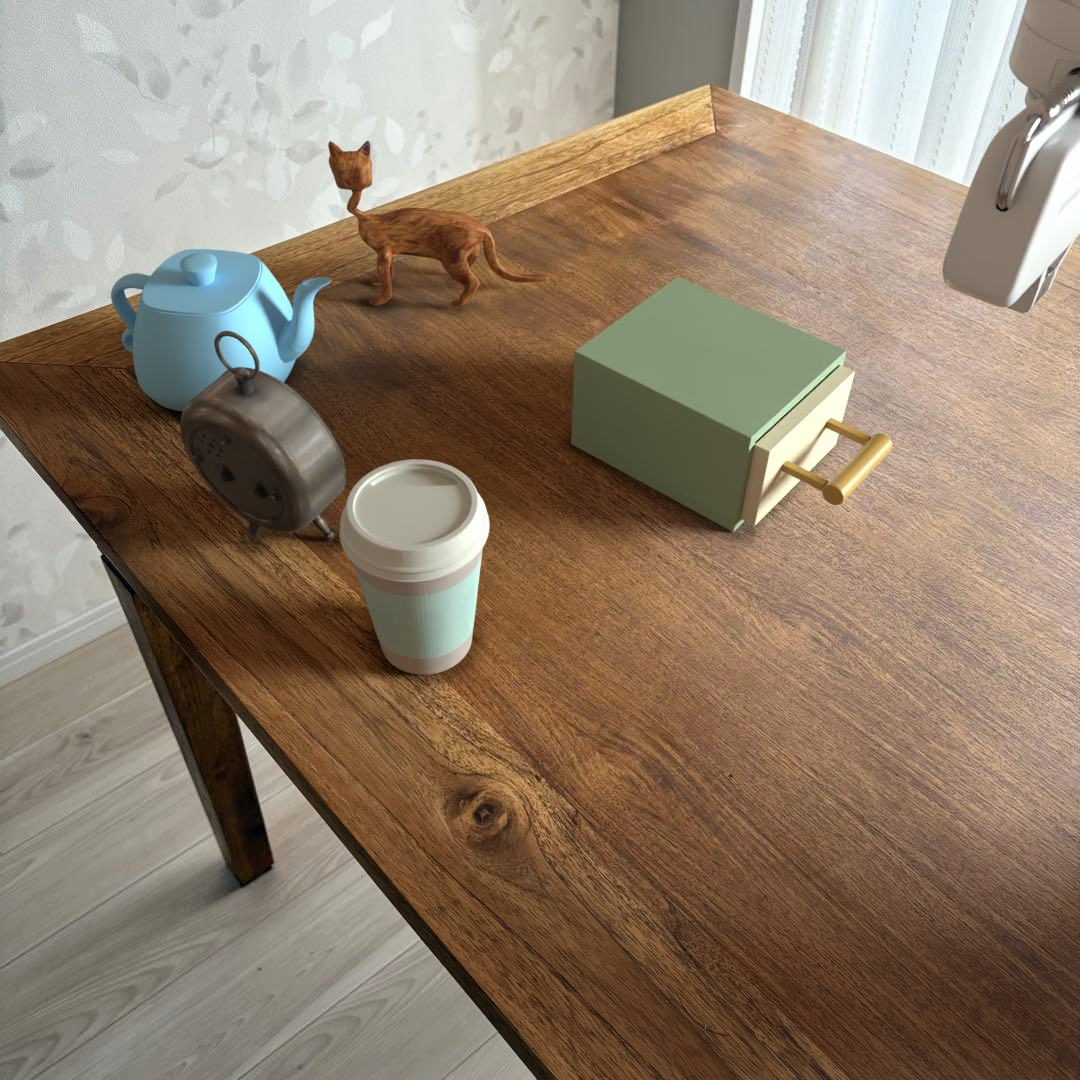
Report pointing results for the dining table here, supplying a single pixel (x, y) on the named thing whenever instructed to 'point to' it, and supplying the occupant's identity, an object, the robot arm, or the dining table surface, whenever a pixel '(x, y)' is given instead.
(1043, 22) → the robot arm
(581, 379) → the cabinet
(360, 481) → the coffee cup
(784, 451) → the drawer
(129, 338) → the teapot
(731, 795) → the dining table surface
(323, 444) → the alarm clock
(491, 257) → the cat figurine
